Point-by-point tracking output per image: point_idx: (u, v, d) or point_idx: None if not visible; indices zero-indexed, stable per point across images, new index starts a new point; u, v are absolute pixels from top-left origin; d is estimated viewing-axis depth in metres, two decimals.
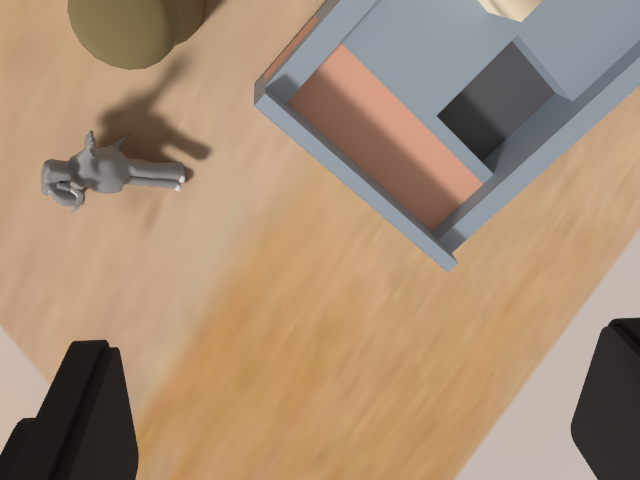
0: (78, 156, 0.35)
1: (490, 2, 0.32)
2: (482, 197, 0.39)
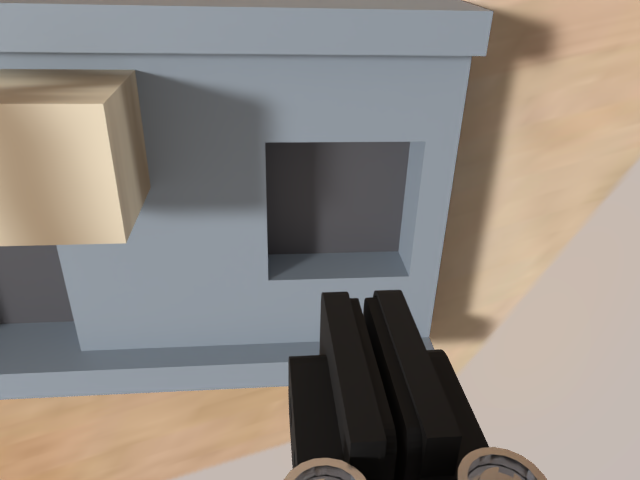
0: None
1: None
2: None
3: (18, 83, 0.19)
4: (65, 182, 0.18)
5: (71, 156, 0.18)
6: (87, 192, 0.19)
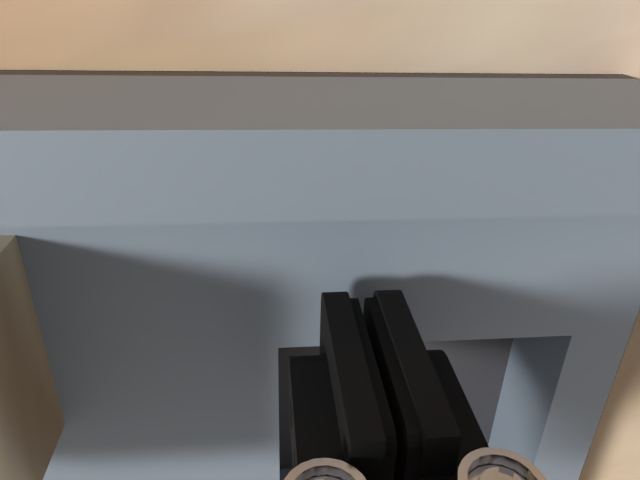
0: None
1: None
2: None
3: None
4: None
5: None
6: None
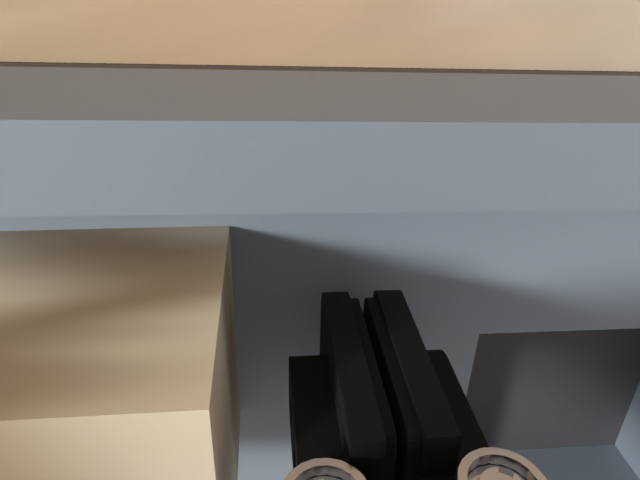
0: None
1: None
2: None
3: None
4: None
5: None
6: None
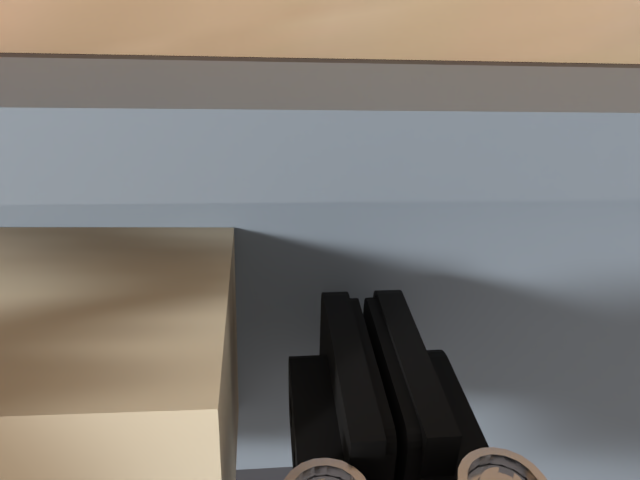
0: None
1: None
2: None
3: (5, 292, 0.09)
4: None
5: None
6: None
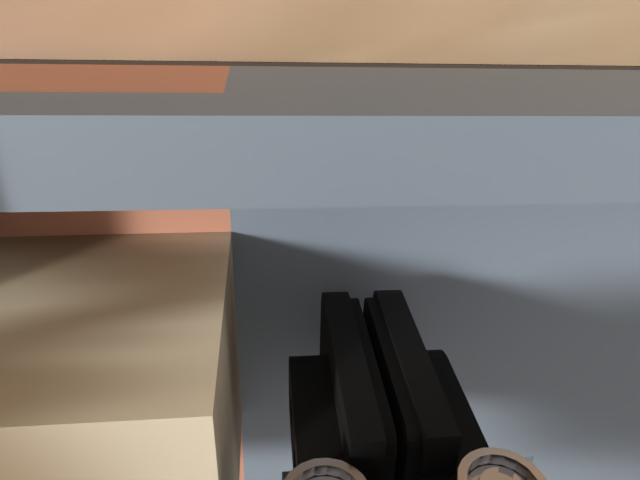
0: None
1: None
2: None
3: (3, 302, 0.09)
4: None
5: None
6: None
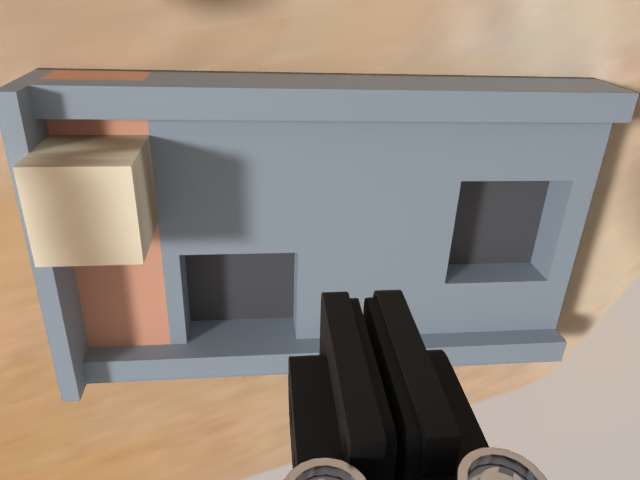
0: None
1: None
2: (156, 357, 0.34)
3: (66, 148, 0.27)
4: (101, 220, 0.26)
5: (106, 202, 0.25)
6: (117, 227, 0.26)
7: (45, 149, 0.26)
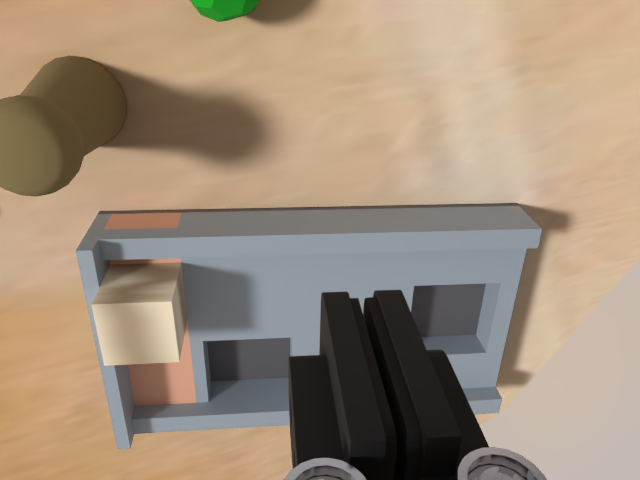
0: None
1: None
2: (186, 414, 0.45)
3: (124, 281, 0.38)
4: (150, 335, 0.37)
5: (154, 323, 0.36)
6: (161, 339, 0.37)
7: (110, 282, 0.37)
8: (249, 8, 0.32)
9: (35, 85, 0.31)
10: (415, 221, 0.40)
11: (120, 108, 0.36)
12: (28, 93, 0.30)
